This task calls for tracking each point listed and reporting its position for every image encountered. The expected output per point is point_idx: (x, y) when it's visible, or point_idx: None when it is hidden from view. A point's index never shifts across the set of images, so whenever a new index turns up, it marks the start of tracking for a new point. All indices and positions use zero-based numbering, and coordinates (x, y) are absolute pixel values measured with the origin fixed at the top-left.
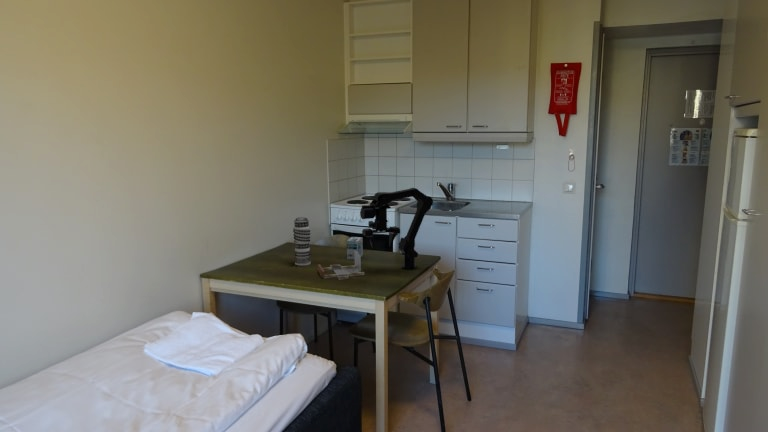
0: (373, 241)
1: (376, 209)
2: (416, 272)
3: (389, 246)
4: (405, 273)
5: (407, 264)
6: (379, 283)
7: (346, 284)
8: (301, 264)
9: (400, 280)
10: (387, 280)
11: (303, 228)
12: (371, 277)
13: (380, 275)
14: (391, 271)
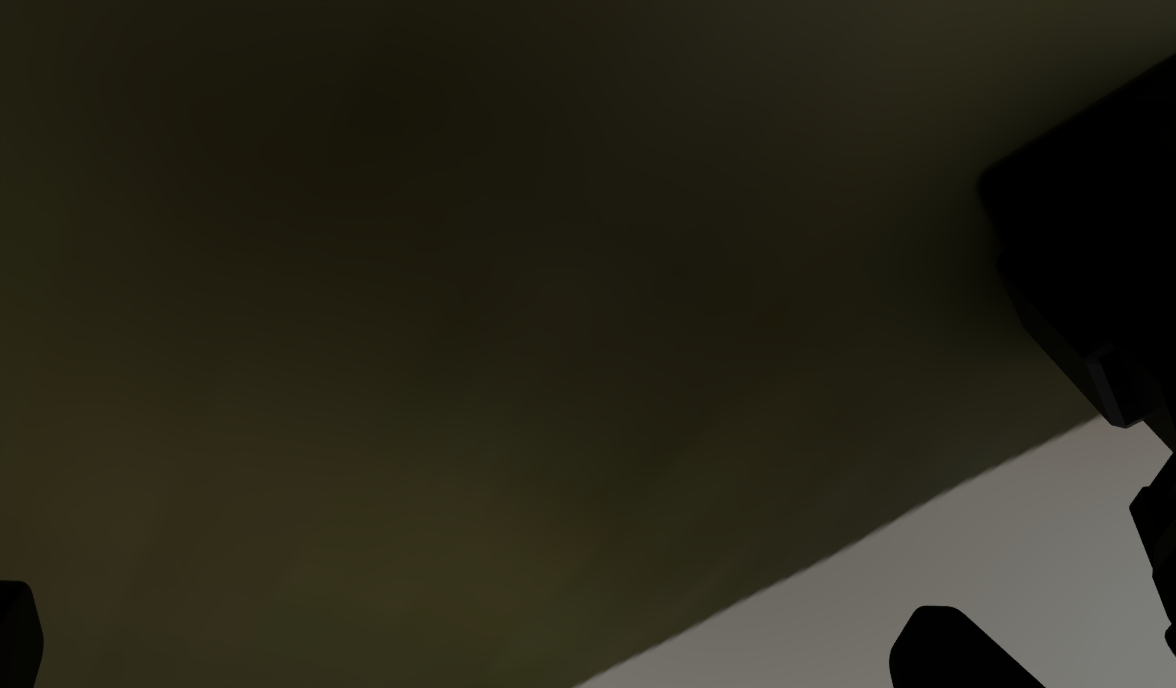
0: None
1: None
2: (953, 483)
3: (913, 647)
4: (778, 463)
5: (1051, 348)
6: (143, 685)
7: None
8: None
9: (494, 671)
10: (316, 626)
11: None
12: (92, 434)
13: (314, 398)
14: (652, 270)
